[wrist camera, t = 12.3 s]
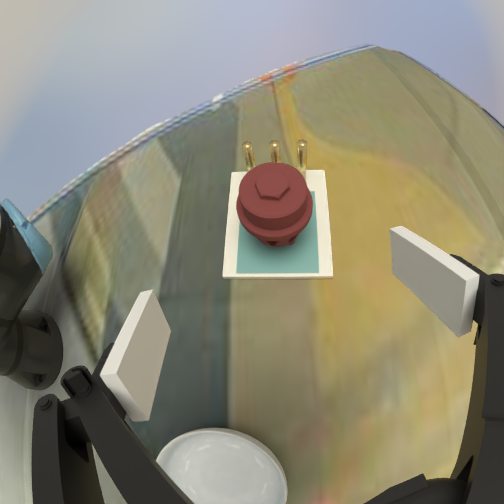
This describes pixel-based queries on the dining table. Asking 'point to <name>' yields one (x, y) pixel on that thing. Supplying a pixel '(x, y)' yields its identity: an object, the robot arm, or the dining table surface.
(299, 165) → the pin
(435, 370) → the dining table surface
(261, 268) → the header board
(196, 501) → the cereal bowl
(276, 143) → the pin
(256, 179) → the mechanical component
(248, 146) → the pin
